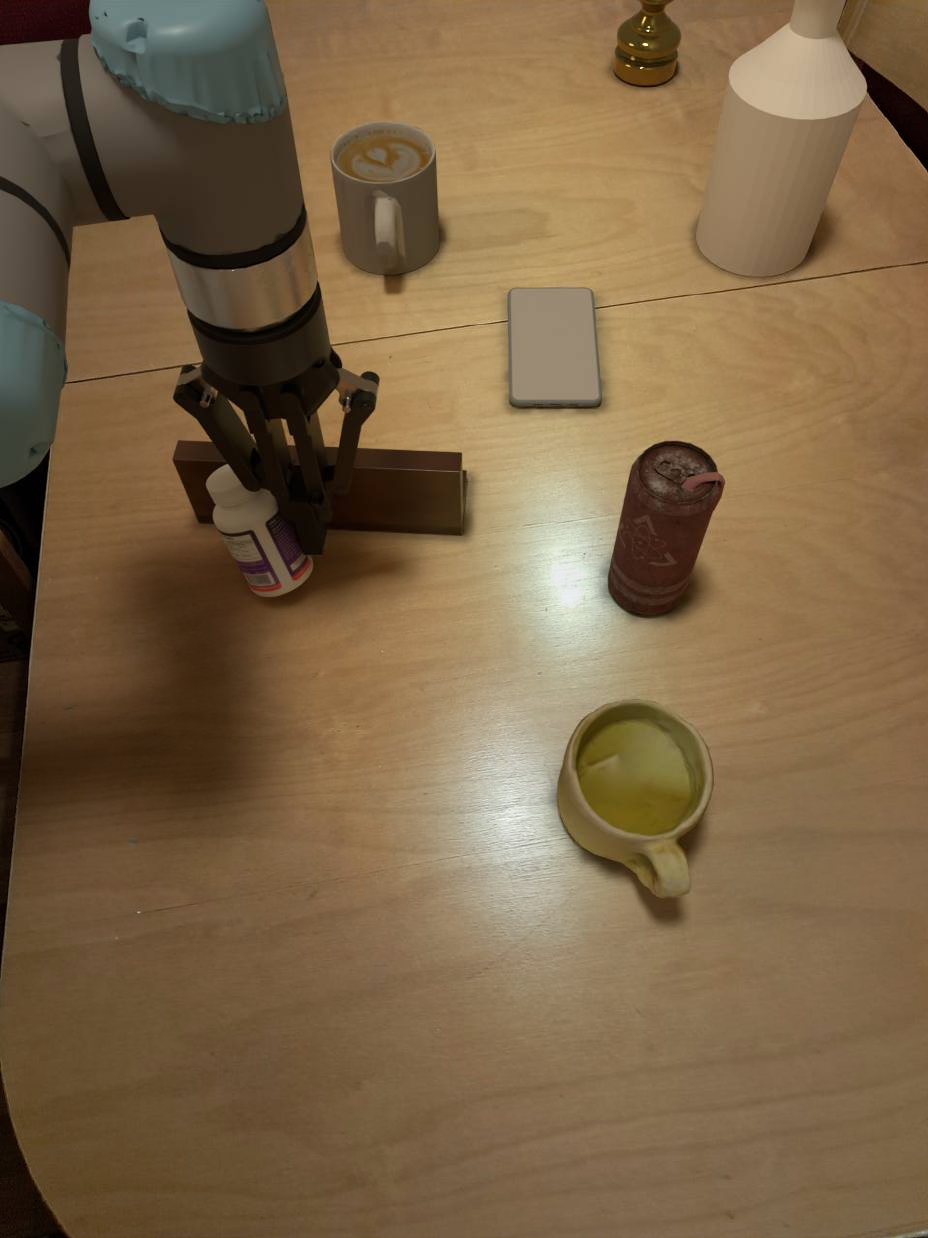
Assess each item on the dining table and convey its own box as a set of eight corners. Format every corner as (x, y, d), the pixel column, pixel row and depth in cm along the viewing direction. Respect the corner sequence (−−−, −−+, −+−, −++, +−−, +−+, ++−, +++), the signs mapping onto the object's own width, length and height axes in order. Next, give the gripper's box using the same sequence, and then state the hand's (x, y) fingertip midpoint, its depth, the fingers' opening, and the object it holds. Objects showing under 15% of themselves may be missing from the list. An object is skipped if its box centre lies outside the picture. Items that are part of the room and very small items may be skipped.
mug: (522, 724, 66) (582, 686, 57) (652, 732, 69) (728, 697, 60) (529, 905, 62) (594, 895, 53) (667, 905, 65) (751, 896, 56)
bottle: (703, 280, 93) (770, 9, 71) (684, 205, 99) (741, -65, 78) (822, 276, 93) (925, 4, 72) (796, 201, 99) (883, -70, 78)
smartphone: (509, 401, 84) (507, 286, 91) (509, 409, 84) (507, 294, 92) (603, 401, 83) (593, 285, 91) (601, 409, 84) (592, 294, 92)
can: (692, 617, 73) (734, 505, 61) (610, 618, 73) (636, 506, 61) (682, 553, 76) (720, 434, 64) (603, 554, 76) (627, 436, 64)
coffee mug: (354, 208, 99) (343, 116, 91) (447, 216, 99) (444, 124, 90) (324, 292, 93) (309, 201, 84) (423, 302, 92) (418, 211, 83)
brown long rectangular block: (198, 523, 78) (171, 459, 71) (213, 467, 81) (188, 401, 74) (462, 535, 77) (460, 472, 70) (466, 478, 80) (465, 412, 73)
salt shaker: (605, 57, 114) (616, -35, 105) (664, 50, 115) (679, -42, 106) (621, 90, 110) (634, -2, 102) (682, 83, 111) (700, -9, 102)
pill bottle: (301, 545, 77) (253, 444, 70) (324, 575, 73) (276, 471, 66) (241, 577, 75) (188, 477, 69) (262, 609, 71) (206, 506, 65)
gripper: (376, 249, 54) (404, 506, 74) (152, 242, 54) (241, 498, 74) (359, 341, 50) (394, 585, 70) (119, 332, 50) (222, 577, 71)
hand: (315, 540), depth 72 cm, fingers closed
